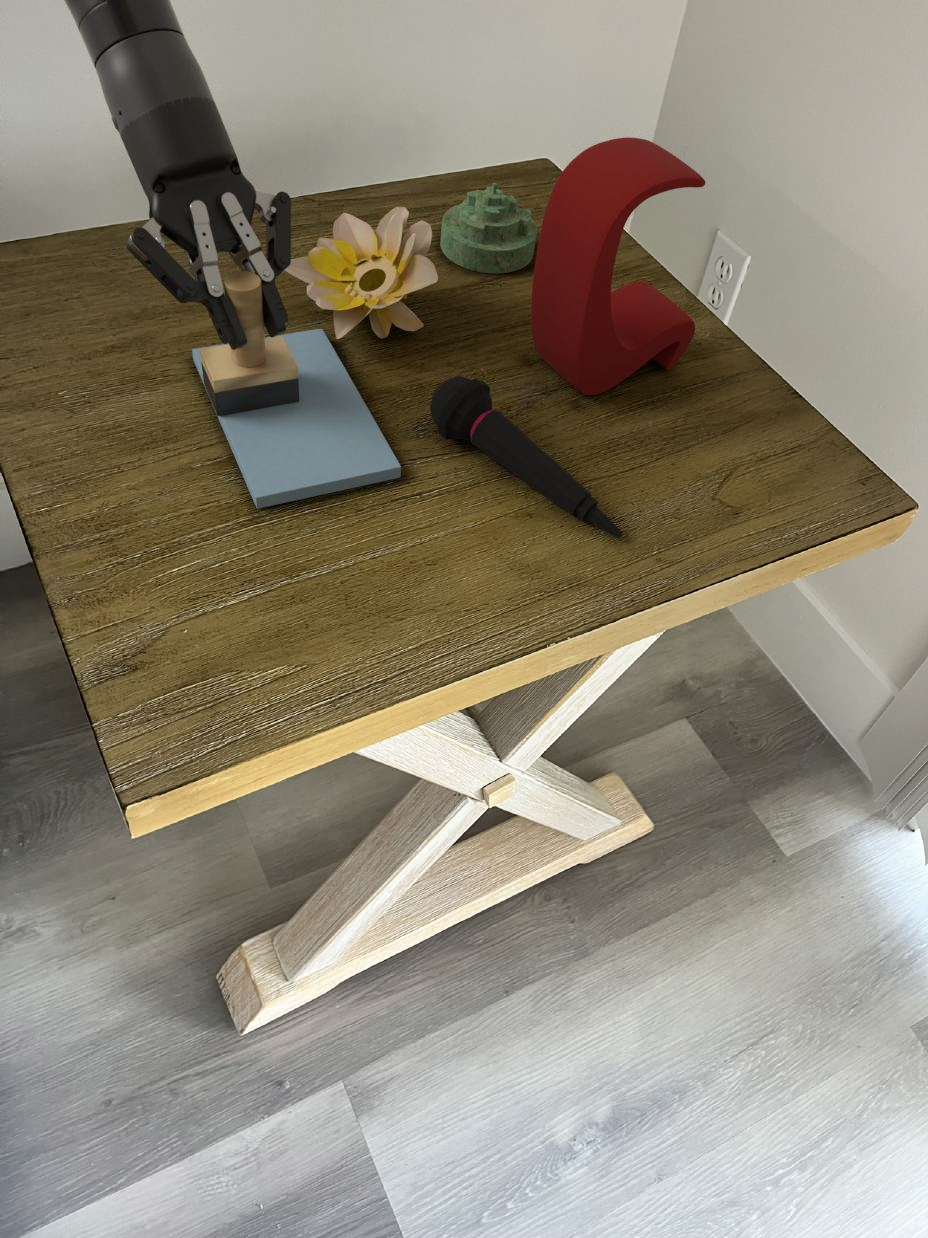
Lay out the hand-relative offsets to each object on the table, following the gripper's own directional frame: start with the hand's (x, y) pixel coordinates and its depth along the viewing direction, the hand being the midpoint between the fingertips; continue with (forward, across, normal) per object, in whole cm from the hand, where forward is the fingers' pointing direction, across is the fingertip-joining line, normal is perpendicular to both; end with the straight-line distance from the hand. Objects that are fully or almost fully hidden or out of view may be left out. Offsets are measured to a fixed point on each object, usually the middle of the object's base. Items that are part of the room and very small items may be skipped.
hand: (259, 339), depth 77 cm
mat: (+6, +2, +5) cm, 8 cm away
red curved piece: (+12, +31, -1) cm, 33 cm away
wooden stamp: (+3, 0, +6) cm, 7 cm away
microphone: (+18, +14, -7) cm, 23 cm away
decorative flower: (-1, +16, +13) cm, 21 cm away
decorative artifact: (-3, +34, +15) cm, 37 cm away
